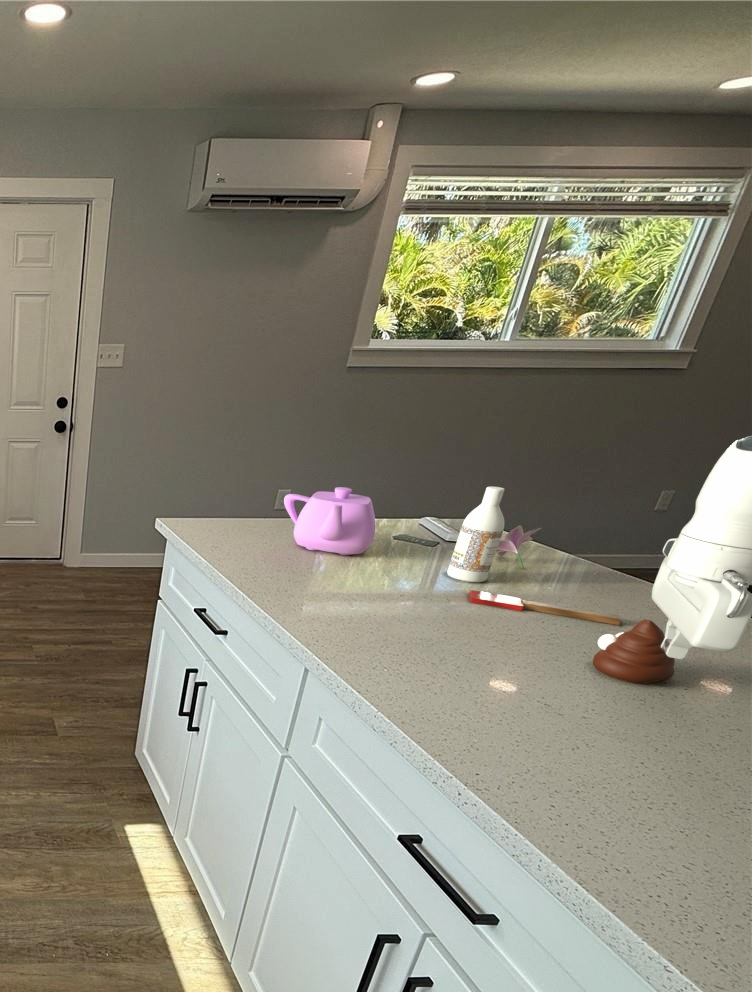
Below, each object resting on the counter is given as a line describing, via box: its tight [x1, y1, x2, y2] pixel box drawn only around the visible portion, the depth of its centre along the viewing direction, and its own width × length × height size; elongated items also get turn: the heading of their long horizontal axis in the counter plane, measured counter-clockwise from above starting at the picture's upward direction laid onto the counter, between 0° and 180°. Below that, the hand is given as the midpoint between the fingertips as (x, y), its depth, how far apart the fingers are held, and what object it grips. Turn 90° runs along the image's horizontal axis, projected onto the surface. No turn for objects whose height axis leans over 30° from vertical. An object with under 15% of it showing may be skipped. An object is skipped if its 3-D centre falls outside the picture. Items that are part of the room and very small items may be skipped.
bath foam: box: [446, 486, 505, 583], centre depth 135 cm, size 7×7×20 cm
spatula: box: [468, 589, 622, 626], centre depth 123 cm, size 22×5×1 cm, turn 56°
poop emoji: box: [592, 619, 676, 684], centre depth 99 cm, size 10×8×9 cm
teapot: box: [283, 486, 376, 556], centre depth 155 cm, size 23×21×15 cm
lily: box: [496, 525, 542, 569], centre depth 146 cm, size 12×12×10 cm
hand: (671, 654), depth 88 cm, fingers closed
